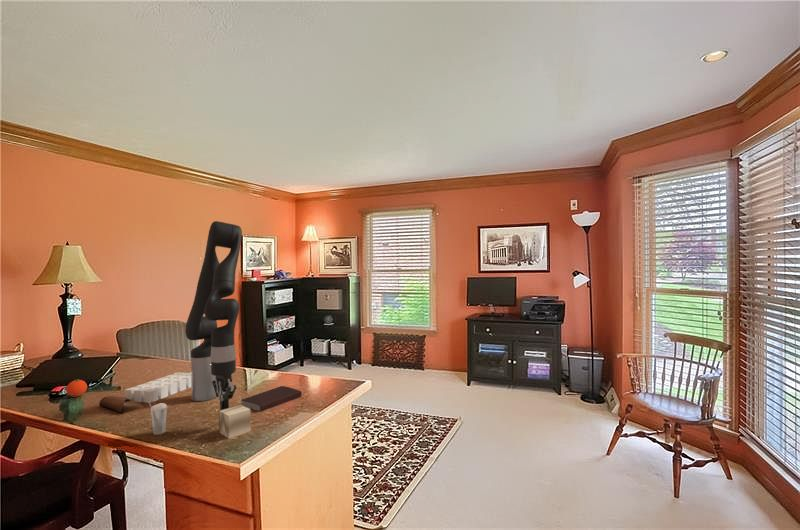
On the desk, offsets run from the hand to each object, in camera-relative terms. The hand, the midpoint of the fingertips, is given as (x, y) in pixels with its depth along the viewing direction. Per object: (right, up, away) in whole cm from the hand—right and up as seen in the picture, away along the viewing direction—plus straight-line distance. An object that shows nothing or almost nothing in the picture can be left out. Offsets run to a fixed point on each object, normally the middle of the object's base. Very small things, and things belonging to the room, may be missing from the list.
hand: (224, 411), depth 128 cm
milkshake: (-19, -6, -4) cm, 21 cm away
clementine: (-80, -8, +37) cm, 88 cm away
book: (+8, -6, +24) cm, 26 cm away
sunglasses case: (-50, -7, +21) cm, 54 cm away
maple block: (+3, -1, -2) cm, 4 cm away
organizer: (-43, -7, +44) cm, 62 cm away
